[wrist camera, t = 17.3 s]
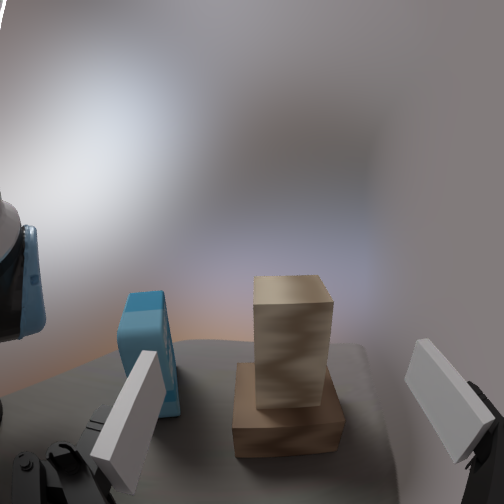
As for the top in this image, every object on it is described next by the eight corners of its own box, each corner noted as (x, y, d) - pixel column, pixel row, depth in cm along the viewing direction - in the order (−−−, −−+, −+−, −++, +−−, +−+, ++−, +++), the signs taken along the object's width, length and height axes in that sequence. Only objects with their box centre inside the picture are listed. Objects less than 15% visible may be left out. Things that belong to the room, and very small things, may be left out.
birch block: (255, 409, 24) (253, 304, 21) (255, 370, 30) (253, 276, 27) (320, 405, 24) (333, 301, 21) (310, 368, 30) (318, 274, 27)
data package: (181, 421, 28) (161, 333, 25) (143, 424, 27) (114, 337, 24) (176, 362, 39) (163, 286, 36) (145, 365, 38) (129, 289, 35)
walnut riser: (235, 457, 23) (232, 427, 22) (239, 394, 33) (237, 362, 31) (336, 450, 23) (345, 420, 22) (320, 390, 33) (324, 359, 31)
